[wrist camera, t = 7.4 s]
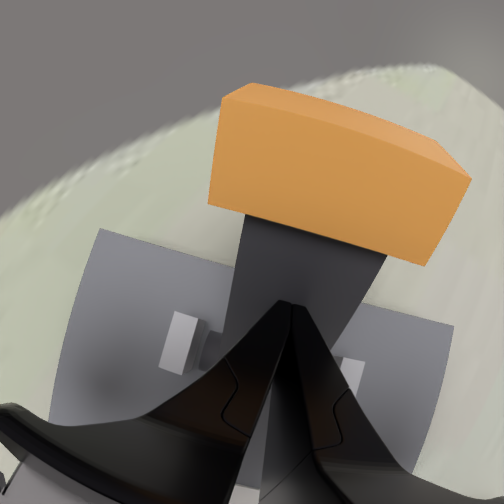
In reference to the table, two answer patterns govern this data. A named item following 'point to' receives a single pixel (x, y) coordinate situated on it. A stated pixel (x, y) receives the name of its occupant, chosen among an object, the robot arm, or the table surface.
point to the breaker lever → (321, 205)
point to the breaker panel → (213, 318)
